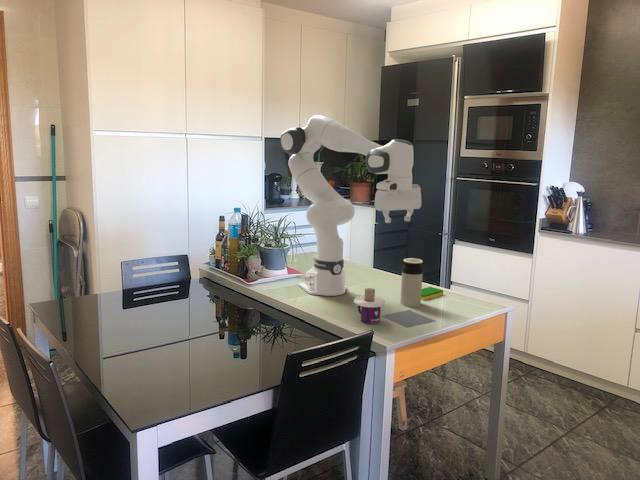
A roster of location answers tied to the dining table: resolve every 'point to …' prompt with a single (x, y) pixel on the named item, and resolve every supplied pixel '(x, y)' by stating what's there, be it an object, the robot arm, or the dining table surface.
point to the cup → (370, 315)
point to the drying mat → (408, 318)
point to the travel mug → (411, 282)
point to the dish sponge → (430, 293)
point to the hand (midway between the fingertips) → (397, 221)
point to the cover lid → (369, 299)
